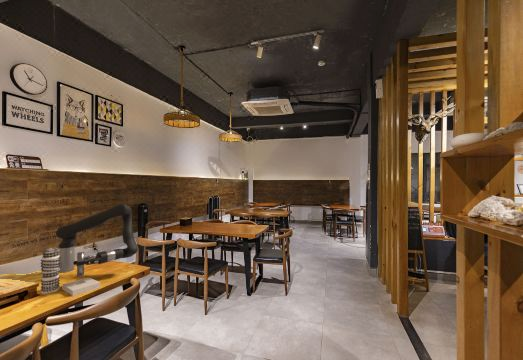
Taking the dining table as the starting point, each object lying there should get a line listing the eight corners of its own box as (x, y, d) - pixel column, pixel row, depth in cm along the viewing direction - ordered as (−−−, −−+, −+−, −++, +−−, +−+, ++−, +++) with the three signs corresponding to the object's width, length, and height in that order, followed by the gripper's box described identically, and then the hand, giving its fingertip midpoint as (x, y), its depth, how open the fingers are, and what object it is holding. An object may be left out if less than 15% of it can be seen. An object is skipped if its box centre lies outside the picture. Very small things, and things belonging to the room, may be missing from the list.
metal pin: (76, 275, 149) (76, 253, 150) (82, 274, 152) (82, 251, 153) (78, 277, 147) (78, 253, 148) (85, 275, 150) (85, 252, 151)
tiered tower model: (59, 291, 144) (59, 249, 145) (38, 295, 139) (39, 251, 140) (61, 286, 152) (62, 245, 152) (42, 289, 147) (42, 247, 148)
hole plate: (62, 289, 147) (62, 284, 147) (88, 281, 159) (88, 277, 159) (72, 296, 138) (72, 290, 138) (100, 287, 150) (100, 282, 150)
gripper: (100, 249, 166) (70, 255, 152) (111, 252, 158) (79, 259, 144) (100, 260, 166) (70, 267, 151) (111, 264, 158) (79, 272, 144)
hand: (75, 263), depth 148 cm, fingers closed on metal pin, 3 cm apart
